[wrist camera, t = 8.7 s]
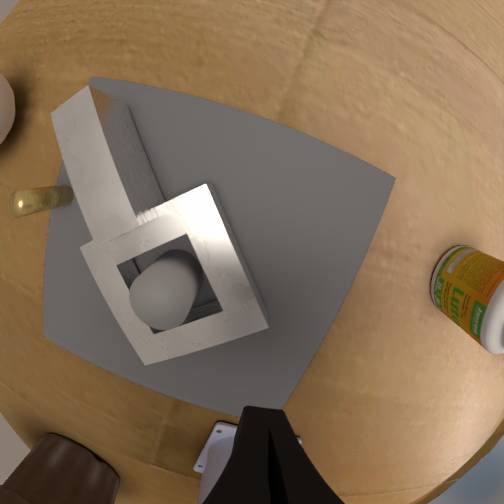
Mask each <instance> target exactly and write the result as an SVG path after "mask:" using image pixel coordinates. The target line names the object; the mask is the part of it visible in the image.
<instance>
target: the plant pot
mask: <svg viewBox="0 0 504 504" xmlns="http://www.w3.org/2000/svg"><path fill="white" fill-rule="evenodd" d="M119 483H120V481H119V478H118V476H117V474H116V473H115V472H114V471H113V470H112V469H111V467H109V466H108V465H107V464H106V463H105V462H100V461H98V460H97V459H96V458H95V457H94V456H93V454H92V453H91V452H90V451H88V450H87V449H85V448H83V447H82V446H80V445H78V444H76V443H75V442H73V441H71V440H69V439H67V438H64V437H62V436H59V435H55V434H47V435H45V436H43V437H42V438H41V439H40V440H39V442H38V443H37V444H36V445H35V447H34V448H33V449H32V450H31V451H30V453H29V454H28V455H27V456H26V457H25V458H24V460H23V461H22V462H21V463H20V464H19V466H18V467H17V468H16V469H15V471H14V472H13V473H12V474H11V475H10V476H9V478H8V479H7V480H6V481H5V482H4V484H3V485H0V504H114V502H115V498H116V494H117V491H118V487H119Z"/></svg>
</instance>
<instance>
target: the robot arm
mask: <svg viewBox="0 0 504 504" xmlns="http://www.w3.org/2000/svg"><path fill="white" fill-rule="evenodd" d="M301 443H302V441H301V438H298V437H296V435H295V433H294V431H293V429H292V427H291V425H290V423H289V421H288V419H287V417H286V415H285V412H284V411H283V410H280V409H271V408H263V407H256V406H249V405H247V406H245V407H244V408H243V411H242V414H241V418H240V421H239V424H238V426H235V425H231V424H227V423H224V422H218V423H216V424H215V426H214V428H213V430H212V432H211V434H210V436H209V438H208V440H207V442H206V444H205V446H204V448H203V450H202V452H201V453H200V455H199V457H198V459H197V461H196V463H195V465H194V467H193V470H194V471H196V472H200V473H202V478H201V484H200V491H199V498H198V504H345V503H344V502H343V501H342V500H341V499H340V498H339V497H338V496H337V495H336V494H335V493H334V491H333V490H332V489H331V488H330V487H329V486H328V484H327V483H326V482H325V481H324V479H323V478H322V477H321V475H320V474H319V472H318V471H317V470H316V468H315V467H314V465H313V464H312V462H311V461H310V459H309V458H308V456H307V454H306V453H305V451H304V449H303V448H302V446H301Z"/></svg>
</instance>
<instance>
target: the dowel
mask: <svg viewBox="0 0 504 504" xmlns="http://www.w3.org/2000/svg"><path fill="white" fill-rule="evenodd" d="M72 200H73V191H72V188H71V187H70V186H69V185H58V186H49V187H41V188H33V189H25V190H18V191H14V192H13V193H12V194H11V196H10V200H9V208H10V211H11V214H12V215H13V216H14V217H16V218H19V217H22V216H26V215H30V214H34V213H38V212H42V211H47V210H51V209H55V208H60V207H64V206H68V205H69V204H70V203H71V202H72Z"/></svg>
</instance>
